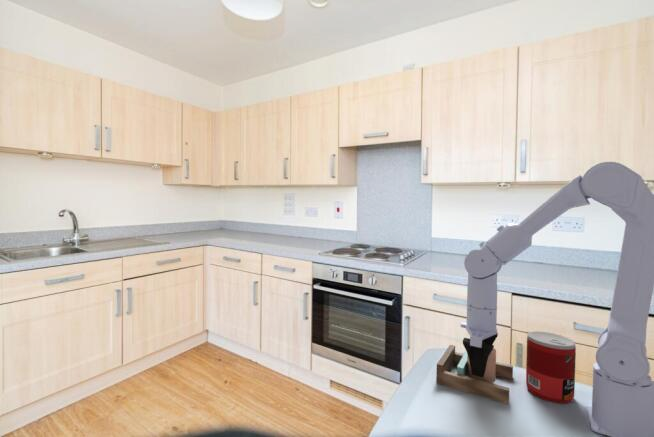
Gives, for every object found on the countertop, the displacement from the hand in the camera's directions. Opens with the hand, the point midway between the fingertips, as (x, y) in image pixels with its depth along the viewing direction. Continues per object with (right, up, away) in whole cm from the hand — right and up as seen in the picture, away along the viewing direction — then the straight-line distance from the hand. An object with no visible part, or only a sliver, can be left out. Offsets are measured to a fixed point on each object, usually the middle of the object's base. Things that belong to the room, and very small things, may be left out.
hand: (480, 369), depth 69 cm
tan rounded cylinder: (0, -1, 0) cm, 1 cm away
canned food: (+12, -3, -4) cm, 13 cm away
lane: (0, -2, 0) cm, 2 cm away
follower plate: (-3, -2, +2) cm, 4 cm away
